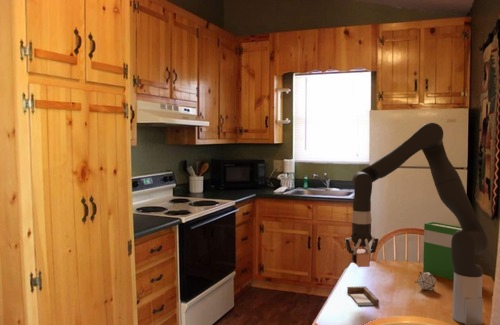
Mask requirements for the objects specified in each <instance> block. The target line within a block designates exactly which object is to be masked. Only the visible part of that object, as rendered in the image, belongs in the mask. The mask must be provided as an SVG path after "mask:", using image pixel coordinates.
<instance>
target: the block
mask: <svg viewBox="0 0 500 325" xmlns="http://www.w3.org/2000/svg"><path fill="white" fill-rule="evenodd" d="M356 255H357V263H356V264H355V265H356V266H357V267H358V268H369V267H371V258H370V254H369V253H368V252H367V251H366V250H365V248H358V250H357V253H356Z"/></svg>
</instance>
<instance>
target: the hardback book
mask: <svg viewBox="0 0 500 325" xmlns="http://www.w3.org/2000/svg"><path fill="white" fill-rule="evenodd" d="M423 224H424V226H423V228H424V229H423V230H424V231H423V233H424V234H423V267H422V268H423V269H422V273H426V272H428V271H430V272H429V273H430V274H432V275H433V276H436V277H440V278H443V279H446V280H451V281H454V267H453V264H452V254H451V241H452V236H453V234H454V233H455V232H456V231H459V230H462V228H461V226H460V225H455V224H454V225H453V224H448V223H442V222H437V221H430V222H426V223H423Z"/></svg>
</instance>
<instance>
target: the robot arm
mask: <svg viewBox="0 0 500 325" xmlns="http://www.w3.org/2000/svg"><path fill="white" fill-rule="evenodd" d="M443 139H444V130H443V128H442V126H441V125H440V124H438V123H436V122H428V123H425V124H423V125H422V126H421V127H419V129H417V131H415V132H414V133H413V134H412V135H411V136H410V137H409V138H407V139H406V140H405V141H404V142H402V143H401V144H400V145H398V146H397V147H395V148H393V150H391V151H389V152H388V153H386V154H385V155H384V156H382V157H381V158H379V159H377V160H376V161H375V162H374V163H372V164H370V165H368V166H366V167H364V168H362V169H360V170H359V171H357V172H356V173H355V174H353V176H352V184H353V187H354V188H353V189H354V190H353V191H354V196H353V198H352V199H353V200H352V212H351V214H352V215H351V235H350V237H344V239H343V240H344V244H345V247H346V250H347V252H348V253H349V254H351V261H352V263H353V264H354V265H356V263H357V255H356V253H357V250H358V249H360V248H361V247H362V248H363V247H364V250H365V251H367V252H368V253H369V254H370V259H371V258H372V257H371V254H374V253H376V250H377V247H378V244H379V238H377V237H376V236H374V237H373V236H372V206H371V205H372V203H371V202H372V201H371V199H372V198H371V197H372V193H373V183H374V182H376V181H378V180H380V179H383V178H385V177H387V176H388V175H390V174H392V173H394V171H396V170H397V169H399V168H400V167H401V166H402V165H403V164H405V163H406V162H407V161H408V160H409V159H410V158H411V157H412V156H414V155H416V154H418V152H420V151H422V152H423V154H424V156H425V159H426V160H427V163H428V165H429V169H430V173H431V177H432V180H433V183H434V186H435V189H436V192H437V194H438V197H439V199H440V201H441V202H442V203H443V204H444V206H446V208H448V209H449V210H450V212H451V213H452V214H453V215H454V216H455V218H456V220H457V221H458V224H459V226H460V227H461V228H462V230H459V231H456V232H455V233H454V234H453V236H452V241H451V254H452V264H453V267H454V280H453V285H452V286H453V287H452V291H453V292H452V293H453V294H452V319H453V320H454V321H455V322H458V323H460V324H463V325H483V310H484V309H483V308H484V298H483V296H482V292H483V267H482V266H481V265H479V264H476V255H479V254H483V253H485V252H486V251H487V250H488V246H489V239H488V237H487V234H486V232H485V230H484V228H483V226H482V224H481V222H480V220H479V218H478V217H477V215H476V212H475V210H474V208H473V205H472V204H471V201H470V200H469V199H470V198H469V197H468V195H467V192H466V189H465V187H464V186H465V185H464V184H463V181H462V179H461V177H460V174H459V173H458V171H457V170H456V168H455V167H454V165H453V164H452V163H451V161H450V159H449V158H448V154H447V153H446V150H445V149H446V148H445V146H444V142H443V141H444V140H443ZM352 242H353V245H352V247H351V244H352ZM370 242H371V246H370V245H369V244H370Z"/></svg>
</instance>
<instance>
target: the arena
mask: <svg viewBox="0 0 500 325" xmlns="http://www.w3.org/2000/svg"><path fill="white" fill-rule="evenodd" d="M346 288H347V291H346V292H347V294H348V295H349V297H350V298H353V299H352V300H353V302H354V303H355V304H356V303H357V304H358V305H357V304H356V305H357V306H358V307H379V306H380V300H379V298H378V297H377V296H376V295H375V294H374V293H373V292H372V291H371V290H370V289H369V288H368V287H367V286H366V285H365V286H347V287H346Z"/></svg>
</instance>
